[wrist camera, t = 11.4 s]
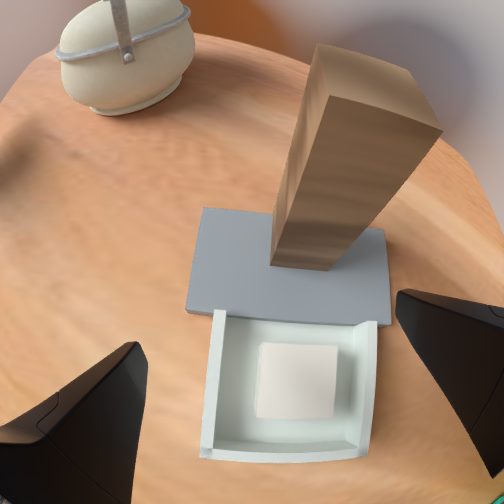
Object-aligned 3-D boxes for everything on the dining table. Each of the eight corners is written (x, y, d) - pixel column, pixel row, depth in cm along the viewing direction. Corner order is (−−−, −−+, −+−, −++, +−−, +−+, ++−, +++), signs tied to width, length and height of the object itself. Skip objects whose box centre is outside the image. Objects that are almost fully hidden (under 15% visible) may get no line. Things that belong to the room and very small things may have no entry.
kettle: (219, 106, 30) (224, -90, 7) (75, 158, 26) (0, -25, 3) (173, 41, 38) (167, -72, 15) (79, 73, 34) (50, -36, 11)
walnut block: (326, 271, 21) (443, 131, 7) (269, 265, 21) (329, 94, 7) (325, 221, 23) (407, 70, 9) (273, 214, 23) (316, 42, 9)
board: (382, 327, 21) (391, 324, 20) (188, 312, 21) (185, 309, 19) (376, 237, 24) (384, 230, 23) (204, 216, 24) (203, 207, 23)
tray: (351, 446, 17) (367, 455, 14) (203, 445, 17) (199, 457, 14) (360, 327, 21) (377, 320, 18) (216, 316, 21) (214, 309, 18)
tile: (319, 411, 18) (332, 417, 15) (252, 410, 18) (256, 417, 15) (323, 348, 20) (337, 345, 17) (258, 345, 20) (263, 342, 17)
